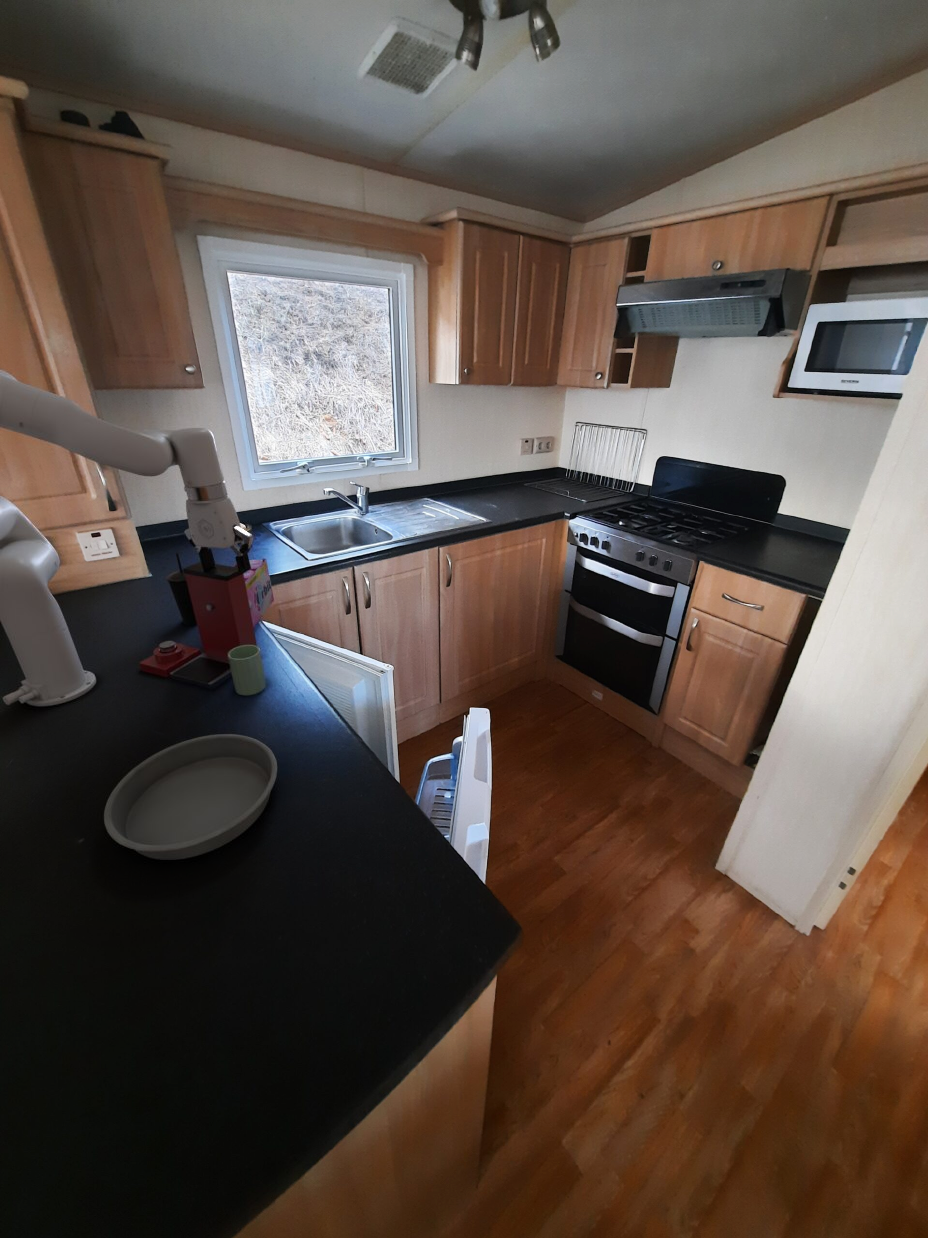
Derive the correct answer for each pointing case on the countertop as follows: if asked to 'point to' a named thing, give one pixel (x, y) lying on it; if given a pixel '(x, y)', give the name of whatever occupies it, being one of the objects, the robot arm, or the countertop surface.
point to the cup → (247, 669)
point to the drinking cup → (182, 594)
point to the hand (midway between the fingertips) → (227, 569)
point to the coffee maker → (216, 622)
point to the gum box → (258, 589)
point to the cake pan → (192, 796)
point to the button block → (169, 660)
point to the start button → (167, 647)
